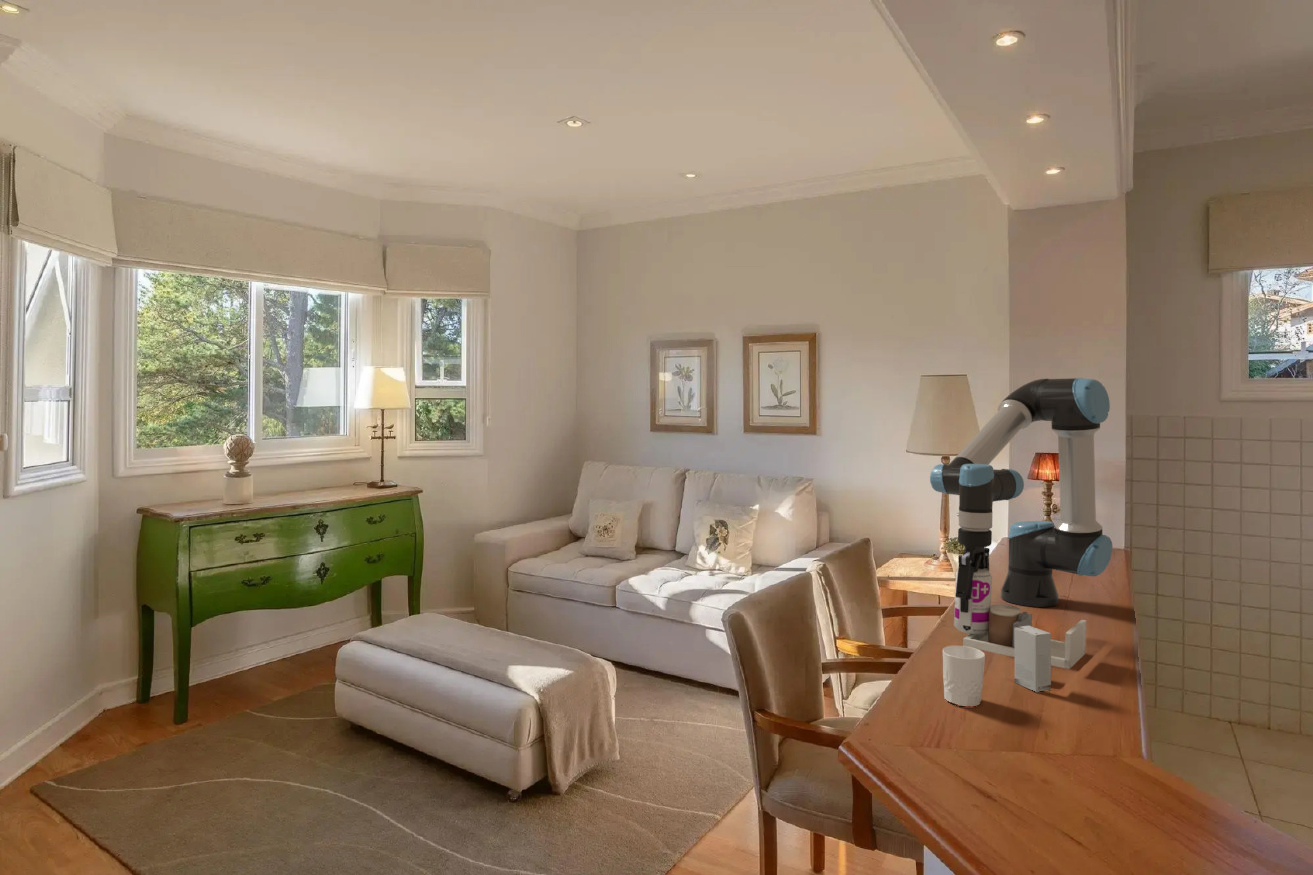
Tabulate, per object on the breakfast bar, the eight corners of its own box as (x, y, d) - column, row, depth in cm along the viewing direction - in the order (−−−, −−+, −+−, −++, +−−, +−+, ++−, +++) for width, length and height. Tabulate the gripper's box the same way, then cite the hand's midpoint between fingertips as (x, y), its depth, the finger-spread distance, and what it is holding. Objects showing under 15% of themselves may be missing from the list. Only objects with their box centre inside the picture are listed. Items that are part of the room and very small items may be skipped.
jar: (993, 638, 191) (995, 602, 190) (1024, 645, 186) (1025, 608, 185) (983, 646, 186) (984, 608, 185) (1014, 652, 181) (1015, 614, 180)
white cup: (982, 696, 159) (983, 647, 158) (985, 711, 152) (986, 660, 151) (941, 691, 162) (942, 643, 161) (941, 705, 154) (942, 656, 154)
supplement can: (993, 636, 186) (995, 574, 185) (956, 633, 188) (958, 572, 187) (986, 625, 194) (988, 566, 193) (951, 623, 196) (953, 564, 194)
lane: (982, 637, 196) (983, 602, 195) (1084, 658, 180) (1086, 620, 180) (962, 650, 186) (963, 613, 185) (1069, 674, 171) (1070, 634, 170)
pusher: (1026, 642, 187) (1027, 608, 187) (1031, 643, 187) (1032, 609, 186) (1012, 653, 180) (1013, 618, 179) (1016, 654, 179) (1017, 619, 178)
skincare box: (1052, 690, 162) (1053, 633, 161) (1035, 693, 160) (1037, 635, 159) (1028, 680, 168) (1030, 624, 167) (1012, 682, 166) (1013, 626, 165)
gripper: (975, 520, 199) (973, 608, 201) (941, 532, 184) (939, 627, 185) (1006, 524, 194) (1003, 614, 196) (974, 536, 179) (971, 634, 180)
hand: (972, 620), depth 191 cm, fingers closed on supplement can, 8 cm apart
